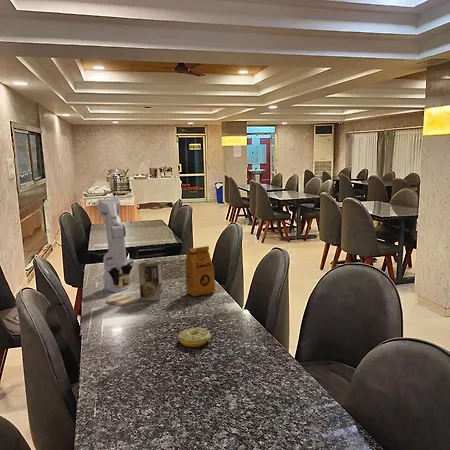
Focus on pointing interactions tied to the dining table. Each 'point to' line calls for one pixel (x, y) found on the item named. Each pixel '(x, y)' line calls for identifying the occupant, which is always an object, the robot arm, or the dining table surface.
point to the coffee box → (150, 281)
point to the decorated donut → (194, 337)
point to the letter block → (123, 281)
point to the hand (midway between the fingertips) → (121, 282)
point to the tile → (122, 300)
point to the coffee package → (199, 272)
